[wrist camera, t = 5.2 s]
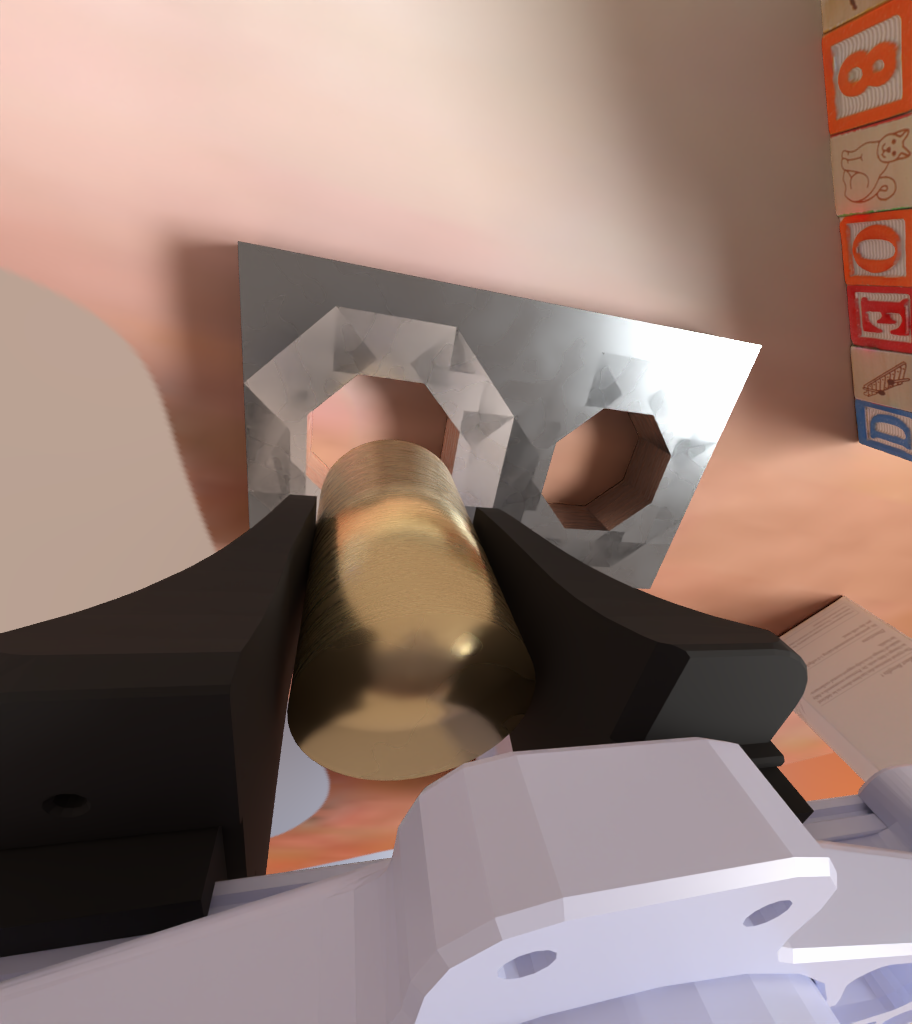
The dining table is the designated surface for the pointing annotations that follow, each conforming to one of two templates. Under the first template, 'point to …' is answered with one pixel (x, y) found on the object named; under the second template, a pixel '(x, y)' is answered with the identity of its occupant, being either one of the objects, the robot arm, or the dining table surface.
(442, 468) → the gold rounded cylinder
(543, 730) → the robot arm
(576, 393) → the plate
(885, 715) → the supplement box
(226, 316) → the dining table surface
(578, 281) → the dining table surface
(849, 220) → the stack of blocks
